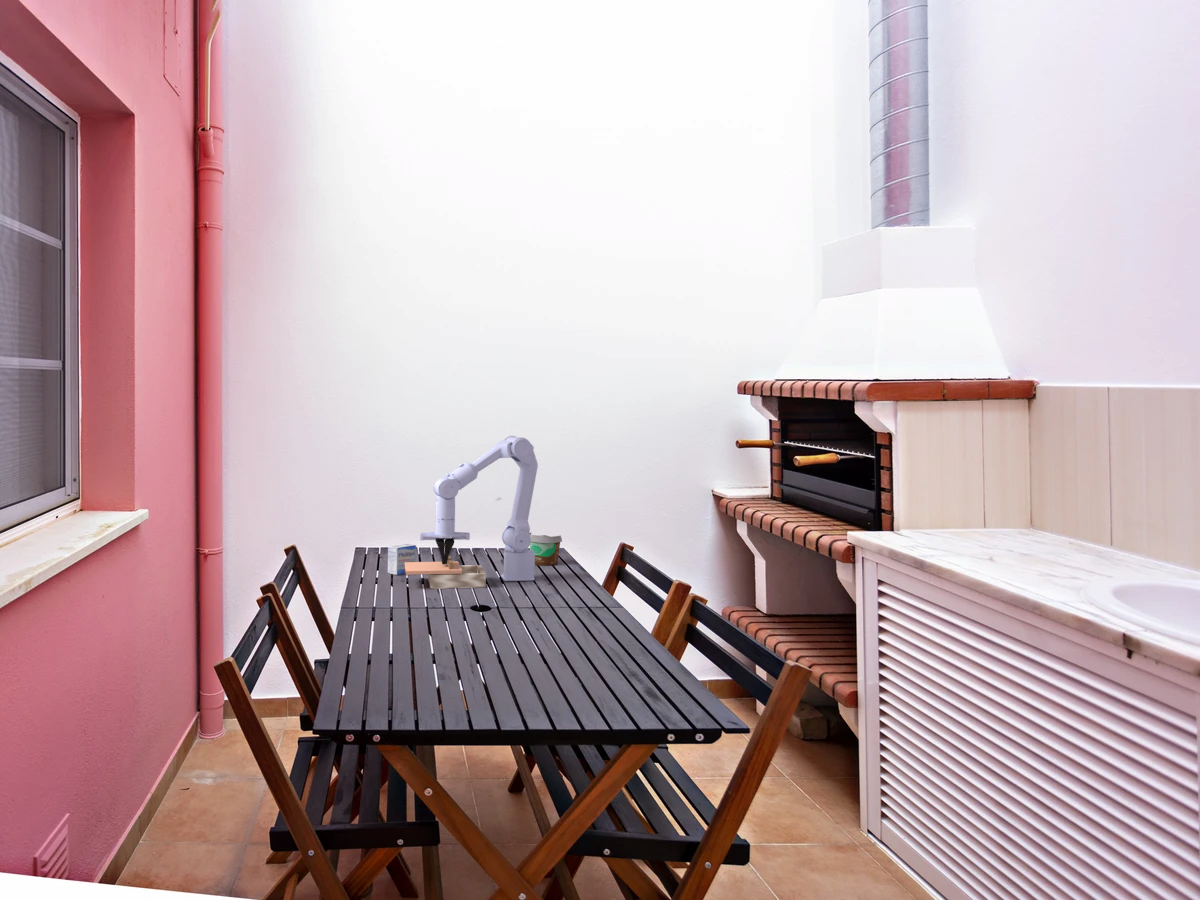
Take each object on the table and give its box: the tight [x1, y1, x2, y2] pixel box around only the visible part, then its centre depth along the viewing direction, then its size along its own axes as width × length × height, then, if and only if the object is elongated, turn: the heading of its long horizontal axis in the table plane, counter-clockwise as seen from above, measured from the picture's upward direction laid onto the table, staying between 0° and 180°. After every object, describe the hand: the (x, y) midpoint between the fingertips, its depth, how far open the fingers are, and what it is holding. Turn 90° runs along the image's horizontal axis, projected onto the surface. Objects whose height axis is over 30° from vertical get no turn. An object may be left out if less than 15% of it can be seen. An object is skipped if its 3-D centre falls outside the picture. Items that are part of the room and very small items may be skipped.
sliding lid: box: [405, 555, 462, 576], centre depth 262 cm, size 16×13×3 cm
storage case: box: [427, 564, 487, 590], centre depth 263 cm, size 16×13×4 cm
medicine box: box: [387, 543, 417, 576], centre depth 275 cm, size 8×4×9 cm, turn 143°
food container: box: [529, 532, 563, 567], centre depth 295 cm, size 12×6×10 cm, turn 68°
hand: (444, 563), depth 262 cm, fingers closed
